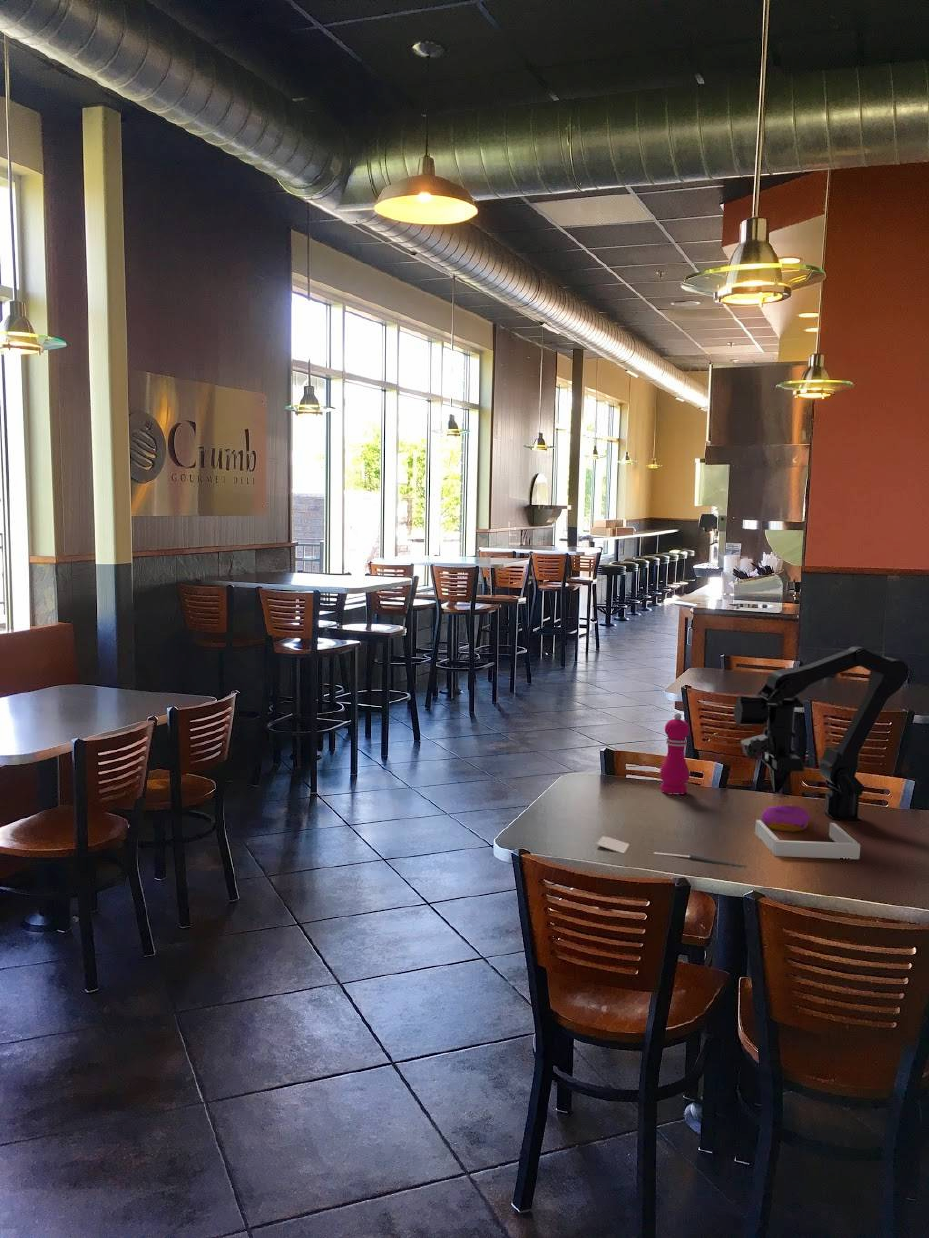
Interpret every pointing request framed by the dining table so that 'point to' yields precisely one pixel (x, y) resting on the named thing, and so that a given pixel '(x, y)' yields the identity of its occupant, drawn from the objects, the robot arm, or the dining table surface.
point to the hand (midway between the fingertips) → (776, 791)
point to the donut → (785, 818)
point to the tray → (811, 844)
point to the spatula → (623, 846)
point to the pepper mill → (675, 757)
